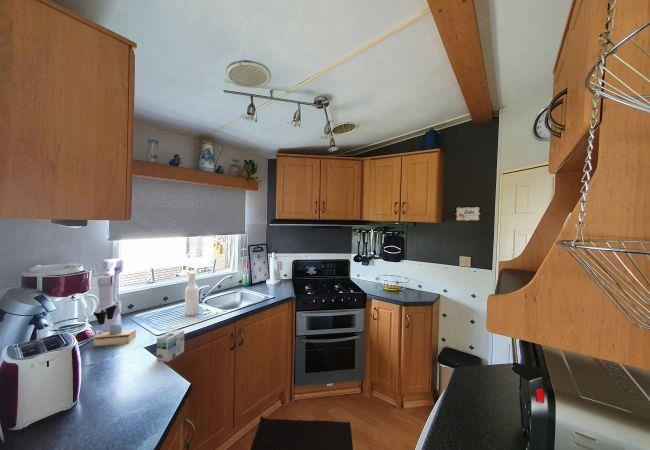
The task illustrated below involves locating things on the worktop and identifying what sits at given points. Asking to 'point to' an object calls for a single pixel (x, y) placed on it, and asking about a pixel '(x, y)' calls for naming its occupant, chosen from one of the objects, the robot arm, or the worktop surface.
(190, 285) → the alcohol
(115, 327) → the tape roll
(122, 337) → the box
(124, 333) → the lid
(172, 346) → the light bulb box
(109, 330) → the robot arm
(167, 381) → the worktop surface
